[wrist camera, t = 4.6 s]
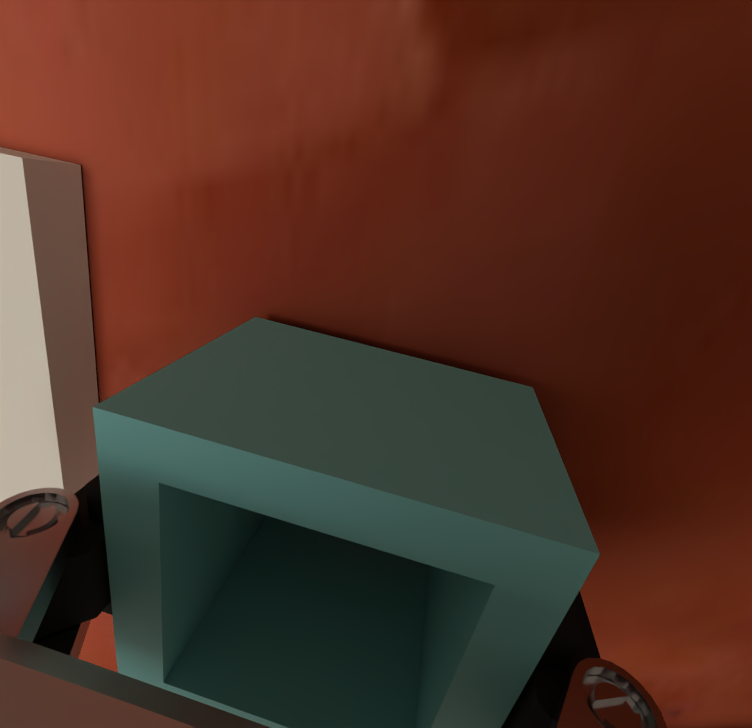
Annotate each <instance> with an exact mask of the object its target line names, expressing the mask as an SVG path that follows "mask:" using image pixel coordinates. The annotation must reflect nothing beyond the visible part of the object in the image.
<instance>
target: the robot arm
mask: <svg viewBox="0 0 752 728" xmlns="http://www.w3.org/2000/svg"><path fill="white" fill-rule="evenodd" d="M102 611H103V612H106V613H109V614H112V604H111V594H110V584H109V573H108V563H107V552H106V542H105V531H104V521H103V511H102V500H101V490H100V479H99V475H97V476H96V477H95V478H93V479H92V480H91V481H89V482H88V483H87V484H85V486H84V487H82V488H81V489H80V490H78V491H77V492H76V493H74V494H73V493H72V492H70V491H68V490H64V489H61V488H39V489H33V490H29V491H25V492H22V493H19V494H16V495H14V496H12V497H9V498H7V499H5V500H3V501H2V502H0V728H271V727H268V726H265V725H262V724H260V723H257V722H254V721H251V720H248V719H246V718H243V717H240V716H237V715H235V714H232V713H229V712H226V711H223V710H221V709H218V708H215V707H212V706H210V705H207V704H204V703H201V702H198V701H196V700H193V699H190V698H187V697H185V696H182V695H179V694H176V693H173V692H171V691H168V690H165V689H162V688H159V687H157V686H154V685H151V684H148V683H145V682H142V681H140V680H137V679H134V678H131V677H128V676H126V675H123V674H120V673H117V672H114V671H111V670H109V669H106V668H103V667H100V666H97V665H94V664H92V663H89V662H86V661H83V660H80V659H78V657H79V654H80V651H81V648H82V645H83V642H84V639H85V636H86V633H87V630H88V627H89V624H90V621H91V619H94V618H96V617H97V616H98V615H99V614H100V613H101V612H102ZM501 728H667V726H666V723H665V721H664V718H663V716H662V713H661V711H660V709H659V708H658V706H657V705H656V703H655V701H654V700H653V698H652V697H651V695H650V694H649V693H648V692H647V691H646V690H645V688H644V687H643V686H642V685H641V684H640V683H639V682H638V681H637V680H636V679H635V678H634V677H633V676H631V675H630V674H629V673H628V672H627V671H625V670H624V669H622V668H621V667H619V666H617V665H615V664H614V663H612V662H610V661H606V660H603V659H601V658H600V655H599V652H598V648H597V645H596V642H595V639H594V636H593V632H592V629H591V626H590V623H589V620H588V616H587V613H586V610H585V607H584V603H583V600H582V597H581V594H580V591H579V592H578V594H577V596H576V597H575V599H574V601H573V603H572V604H571V606H570V608H569V610H568V611H567V613H566V615H565V617H564V618H563V620H562V622H561V624H560V625H559V627H558V629H557V631H556V632H555V634H554V636H553V638H552V639H551V641H550V643H549V645H548V646H547V648H546V650H545V652H544V653H543V655H542V657H541V659H540V660H539V662H538V664H537V666H536V667H535V669H534V671H533V673H532V674H531V676H530V678H529V680H528V681H527V683H526V685H525V687H524V688H523V690H522V692H521V694H520V695H519V697H518V699H517V701H516V702H515V704H514V706H513V708H512V709H511V711H510V713H509V715H508V716H507V718H506V720H505V722H504V723H503V725H502V727H501Z"/></svg>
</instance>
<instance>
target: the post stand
mask: <svg viewBox="0 0 752 728" xmlns="http://www.w3.org/2000/svg"><path fill="white" fill-rule="evenodd" d="M97 404H99V402H98V388H97V375H96V362H95V349H94V336H93V322H92V309H91V296H90V283H89V270H88V257H87V243H86V230H85V217H84V204H83V191H82V177H81V165H79V164H74V163H70V162H65V161H61V160H56V159H52V158H48V157H43V156H39V155H34V154H30V153H25V152H21V151H16V150H12V149H7V148H3V147H0V502H2V501H3V500H5V499H7V498H9V497H12V496H14V495H16V494H19V493H22V492H25V491H29V490H33V489H39V488H61V489H64V490H68V491H70V492H72V493H73V494H74V493H76V492H77V491H78V490H80V489H81V488H82V487H84V486H85V484H87V483H88V482H89V481H91V480H92V479H93V478H95V477H96V476H97V475H99V469H98V458H97V448H96V438H95V427H94V417H93V406H95V405H97Z"/></svg>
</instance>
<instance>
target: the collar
mask: <svg viewBox="0 0 752 728" xmlns="http://www.w3.org/2000/svg"><path fill="white" fill-rule="evenodd" d="M93 417H94V427H95V438H96V448H97V458H98V469H99V479H100V490H101V500H102V511H103V521H104V531H105V542H106V552H107V563H108V573H109V584H110V594H111V604H112V615H113V625H114V636H115V646H116V656H117V667H118V673H120V674H123V675H126V676H128V677H131V678H134V679H137V680H140V681H142V682H145V683H148V684H151V685H154V686H157V687H159V688H162V689H165V690H168V691H171V692H173V693H176V694H179V695H182V696H185V697H187V698H190V699H193V700H196V701H198V702H201V703H204V704H207V705H210V706H212V707H215V708H218V709H221V710H223V711H226V712H229V713H232V714H235V715H237V716H240V717H243V718H246V719H248V720H251V721H254V722H257V723H260V724H262V725H265V726H268V727H271V728H501V727H502V725H503V723H504V722H505V720H506V718H507V716H508V715H509V713H510V711H511V709H512V708H513V706H514V704H515V702H516V701H517V699H518V697H519V695H520V694H521V692H522V690H523V688H524V687H525V685H526V683H527V681H528V680H529V678H530V676H531V674H532V673H533V671H534V669H535V667H536V666H537V664H538V662H539V660H540V659H541V657H542V655H543V653H544V652H545V650H546V648H547V646H548V645H549V643H550V641H551V639H552V638H553V636H554V634H555V632H556V631H557V629H558V627H559V625H560V624H561V622H562V620H563V618H564V617H565V615H566V613H567V611H568V610H569V608H570V606H571V604H572V603H573V601H574V599H575V597H576V596H577V594H578V592H579V590H580V589H581V587H582V585H583V583H584V582H585V580H586V578H587V576H588V575H589V573H590V571H591V569H592V568H593V566H594V564H595V562H596V561H597V559H598V557H599V555H600V553H599V550H598V548H597V545H596V543H595V540H594V538H593V535H592V533H591V530H590V528H589V525H588V523H587V520H586V518H585V515H584V513H583V510H582V508H581V505H580V503H579V501H578V498H577V496H576V493H575V491H574V488H573V486H572V483H571V481H570V478H569V476H568V473H567V471H566V468H565V466H564V463H563V461H562V458H561V456H560V453H559V451H558V449H557V446H556V444H555V441H554V439H553V436H552V434H551V431H550V429H549V426H548V424H547V421H546V419H545V416H544V414H543V411H542V409H541V406H540V404H539V401H538V399H537V396H536V394H535V392H534V389H533V387H530V386H526V385H522V384H518V383H514V382H510V381H506V380H502V379H498V378H494V377H490V376H487V375H483V374H479V373H475V372H471V371H467V370H463V369H459V368H455V367H451V366H447V365H443V364H439V363H435V362H431V361H428V360H424V359H420V358H416V357H412V356H408V355H404V354H400V353H396V352H392V351H388V350H384V349H380V348H376V347H372V346H369V345H365V344H361V343H357V342H353V341H349V340H345V339H341V338H337V337H333V336H329V335H325V334H321V333H317V332H313V331H310V330H306V329H302V328H298V327H294V326H290V325H286V324H282V323H278V322H274V321H270V320H266V319H262V318H258V317H254V318H253V319H251V320H249V321H247V322H245V323H244V324H242V325H240V326H238V327H236V328H235V329H233V330H231V331H229V332H227V333H225V334H224V335H222V336H220V337H218V338H216V339H215V340H213V341H211V342H209V343H207V344H206V345H204V346H202V347H200V348H198V349H196V350H195V351H193V352H191V353H189V354H187V355H186V356H184V357H182V358H180V359H178V360H177V361H175V362H173V363H171V364H169V365H168V366H166V367H164V368H162V369H160V370H158V371H157V372H155V373H153V374H151V375H149V376H148V377H146V378H144V379H142V380H140V381H139V382H137V383H135V384H133V385H131V386H129V387H128V388H126V389H124V390H122V391H120V392H119V393H117V394H115V395H113V396H111V397H110V398H108V399H106V400H104V401H102V402H101V403H99V404H97V405H95V406H93Z"/></svg>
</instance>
